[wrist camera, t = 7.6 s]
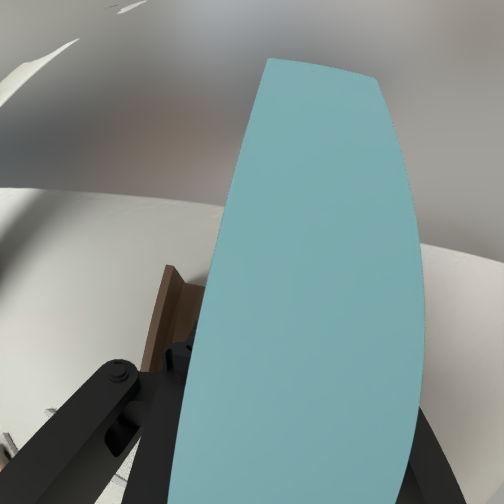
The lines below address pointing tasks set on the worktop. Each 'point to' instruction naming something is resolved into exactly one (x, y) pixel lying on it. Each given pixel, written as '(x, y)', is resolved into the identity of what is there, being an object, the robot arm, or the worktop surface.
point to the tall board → (308, 307)
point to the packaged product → (6, 450)
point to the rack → (171, 317)
